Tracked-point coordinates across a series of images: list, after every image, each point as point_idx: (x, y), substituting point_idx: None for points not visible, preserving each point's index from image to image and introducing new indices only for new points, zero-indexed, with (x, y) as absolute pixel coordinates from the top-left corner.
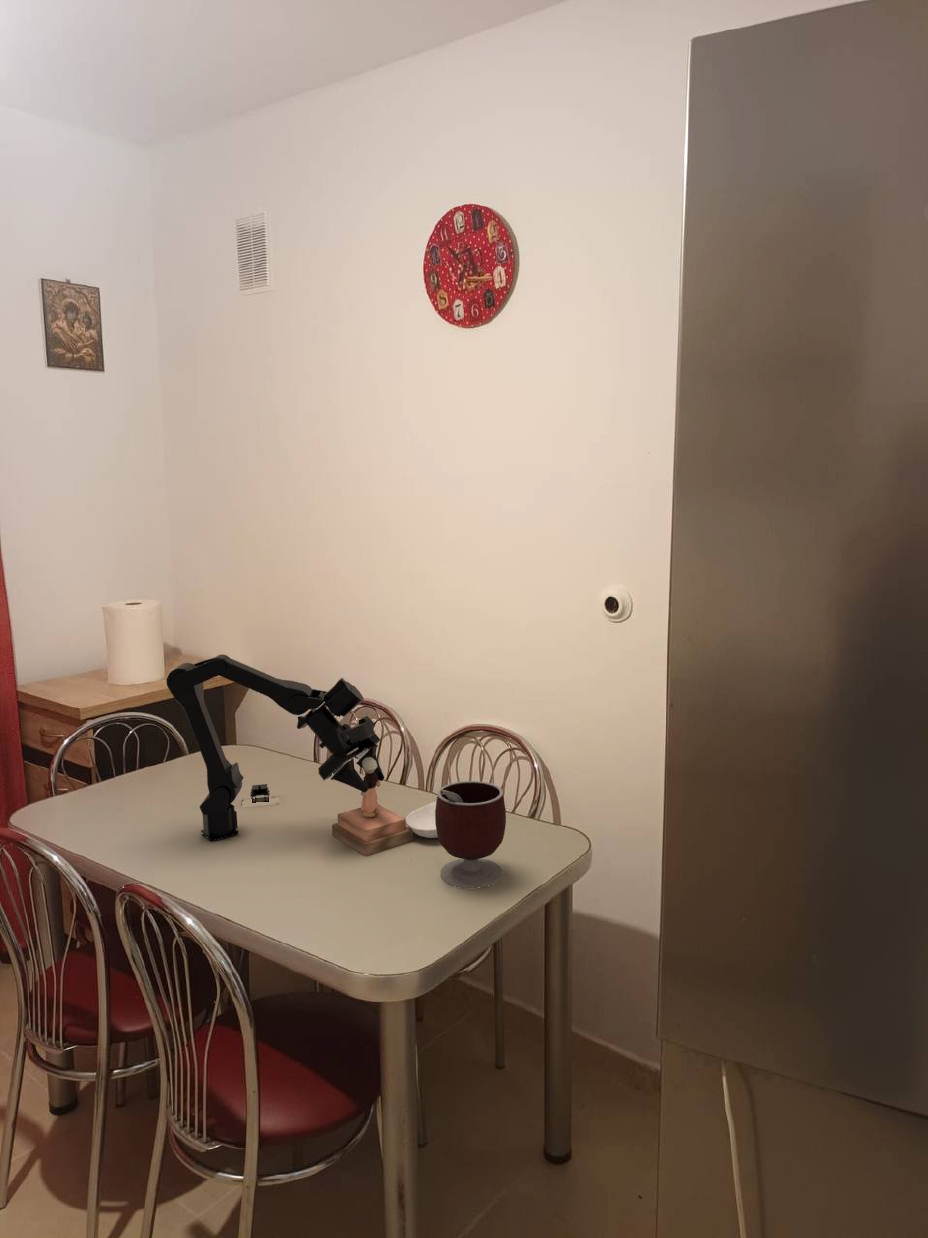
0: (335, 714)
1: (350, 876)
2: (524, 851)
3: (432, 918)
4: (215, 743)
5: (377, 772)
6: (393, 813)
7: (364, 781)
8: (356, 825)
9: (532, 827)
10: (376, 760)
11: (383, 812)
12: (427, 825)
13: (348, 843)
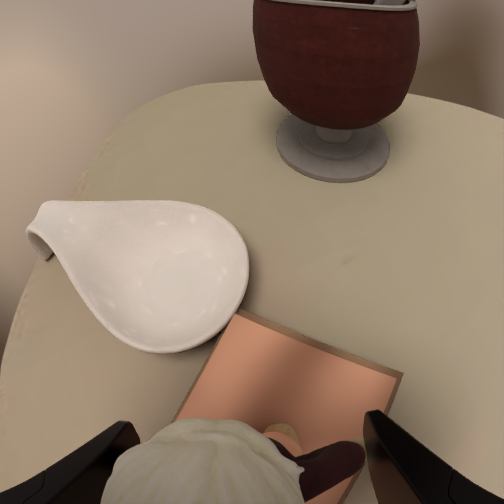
0: None
1: (485, 331)
2: (208, 122)
3: (469, 141)
4: None
5: (109, 469)
6: (204, 380)
7: (340, 472)
8: None
9: (113, 154)
10: (29, 489)
11: None
12: (158, 308)
13: None
